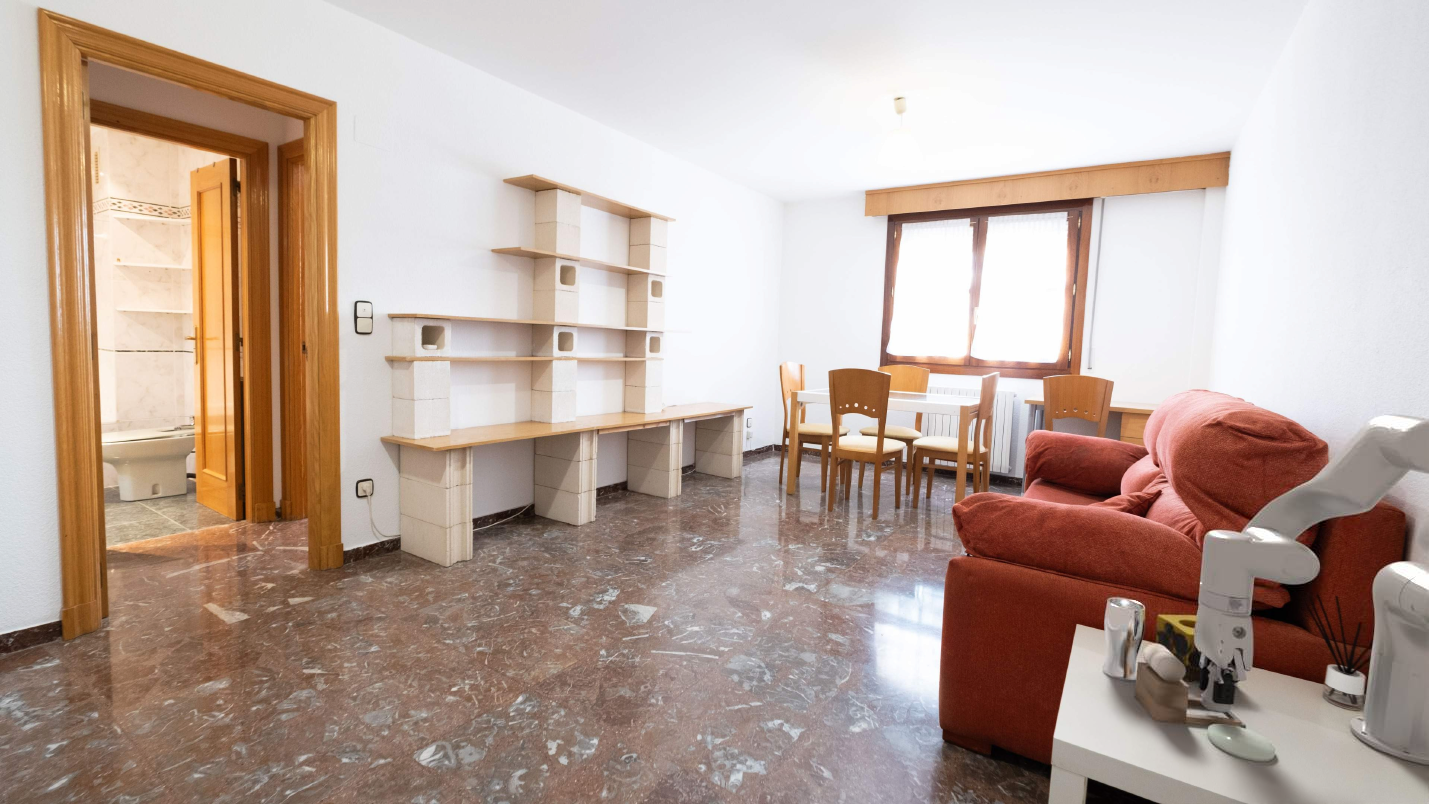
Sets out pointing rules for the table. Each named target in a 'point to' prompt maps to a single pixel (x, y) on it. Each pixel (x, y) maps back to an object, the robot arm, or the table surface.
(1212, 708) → the rook chess piece
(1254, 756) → the pale green round disc
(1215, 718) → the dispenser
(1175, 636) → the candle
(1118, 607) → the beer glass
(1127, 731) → the table surface
